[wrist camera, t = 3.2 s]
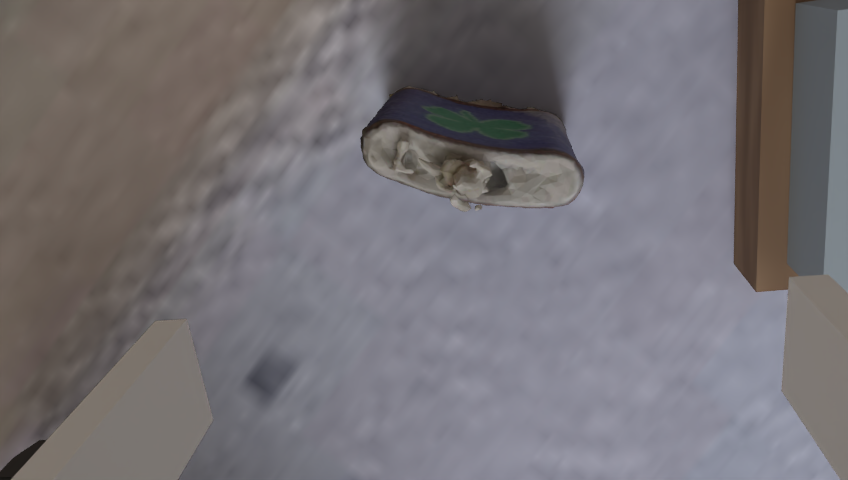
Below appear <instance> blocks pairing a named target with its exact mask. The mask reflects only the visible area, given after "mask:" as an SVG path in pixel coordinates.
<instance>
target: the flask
mask: <svg viewBox="0 0 848 480" xmlns="http://www.w3.org/2000/svg"><path fill="white" fill-rule="evenodd" d="M389 96H390V99H389V100H388V101H387V102H386V103H385V104H384V106H383V107H382V108H381V109H380V110H379V111H378V112H377V115H376V116H375V117H374V118H373V119H372V120H371V121H370V123H369V124H368V125H367V127H365V128H364V129H363V130H362V137H361V138H360V139H361V149H362V153H363V159H364V161H365V163H366V164H367V166H368V167H369V168H371V169H372V170H373V171H375V172H376V173H377V174H379V175H381V176H383V177H386V178H388V179H391V180H394V181H397V182H399V183H401V184H404V185H407V186H410V187H413V188H416V189H419V190H421V191H424V192H426V193H430V194H434V195H436V196H439V197H444V198H451V199H450V201H451V204H452V205H453V206H454V207H455V208H457V209H459V210H461V211H464V212H467V211H468V210H470V209H471V207H470V205H469V203H468V202H470V203H475V204H482V205H493V206H505V207H523V208H554V207H558V206H564V205H568V204H569V203H571V202H572V201H573V200H575V198H576V197H577V196H578V194H579V193H580V191H581V188H582V186H583V181H584V169H583V167H582V166H581V165H580V163H579V162H578V160H577V159H576V156H575V154H574V152H573V149H572V146H571V144H570V142H569V139H568V137H567V134H566V129H565V127H564V125H563V123H562V121H561V120H560V119H559V118H558V117H557V116H556V115H553V114H551V113H548V112H545V111H541V110H538V109H536V108H534V107H533V108H531V107H527V109H516V108H512V107H510V108H509V107H508V106H504V105H503V106H502V103H495V102H492V101H491V100H487V101H485V100H482V99H480V100H476V102H475V101H472V102H463V101H461V100H459V98H458V97H457V95H456V96H455V97H447V98H446V97H441V96H439V95H438V94H436V93H435V91H433V92H431V91H427V90H424V89H420V88H414V87H411V86H408V87H405V88H402V89H400V90H398V91H397V92H396V93H395V94H390V95H389ZM480 209H482V206H481V205H476V206H475V210H476V211H477V210H480Z"/></svg>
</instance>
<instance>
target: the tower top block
mask: <svg viewBox="0 0 848 480" xmlns="http://www.w3.org/2000/svg"><path fill="white" fill-rule="evenodd" d="M787 264H788V265H789V266H790V267H791V268H792V269H793V270H794V271H795V272H796V273H797V274H798V276H812V275H826V274H828V275H829V276H830V277H831V278H832V279H834V280H835V281H836V282H837V283H838V284H839V285H840V286H841V287H842V288H843V289H844V290H845V291H846V292H847V293H848V0H815V1H808V2H801V3H796V10H795V40H794V69H793V99H792V129H791V159H790V189H789V219H788V248H787Z"/></svg>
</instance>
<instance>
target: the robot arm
mask: <svg viewBox="0 0 848 480" xmlns="http://www.w3.org/2000/svg"><path fill="white" fill-rule="evenodd" d="M782 392H783V394H784V395H785V397H786V398H787V400H788V401H789V403H790V404H791V406H792V407H793V409H794V410H795V412H796V413H797V415H798V416H799V418H800V419H801V421H802V422H803V424H804V425H805V427H806V428H807V430H808V431H809V433H810V434H811V436H812V437H813V439H814V440H815V442H816V444H817V445H818V447H819V448H820V450H821V451H822V453H823V454H824V456H825V457H826V459H827V460H828V462H829V463H830V465H831V466H832V468H833V469H834V471H835V472H836V474H837V475H838V477H839V478H840V480H848V293H847V292H846V291H845V290H844V289H843V288H842V287H841V286H840V285H839V284H838V283H837V282H836V281H835V280H834V279H832V278H831V277H830V276H829V275H828V274H826V275H812V276H797V277H789V285H788V301H787V316H786V331H785V346H784V361H783V377H782ZM212 422H213V416H212V413H211V409H210V405H209V401H208V397H207V394H206V390H205V386H204V382H203V378H202V375H201V371H200V367H199V363H198V359H197V355H196V352H195V348H194V344H193V340H192V336H191V333H190V329H189V325H188V321H187V319H178V320H163V321H155V322H154V323H153V324H152V325H151V326H150V327H149V329H148V330H147V331H146V332H145V333H144V334H143V335H142V336H141V337H140V338H139V340H138V341H137V342H136V343H135V344H134V345H133V346H132V347H131V348H130V349H129V350H128V352H127V353H126V354H125V355H124V356H123V357H122V358H121V359H120V360H119V361H118V363H117V364H116V365H115V366H114V367H113V368H112V369H111V370H110V371H109V372H108V374H107V375H106V376H105V377H104V378H103V379H102V380H101V381H100V382H99V383H98V384H97V386H96V387H95V388H94V389H93V390H92V391H91V392H90V393H89V394H88V395H87V397H86V398H85V399H84V400H83V401H82V402H81V403H80V404H79V405H78V406H77V408H76V409H75V410H74V411H73V412H72V413H71V414H70V415H69V416H68V417H67V419H66V420H65V421H64V422H63V423H62V424H61V425H60V426H59V427H58V428H57V429H56V431H55V432H54V433H53V434H52V435H51V436H50V437H49V438H48V439H47V440H39V441H38V442H36V443H35V444H33V445H32V446H30V447H29V448H27V449H26V450H24V451H23V452H21V453H20V454H18V455H17V456H15V457H14V458H13V459H12V460H11V461H10V462H9V463H8V464H7V465H6V466H5V467H4V468H3V469H2V470H1V471H0V480H178V479H179V477H180V475H181V474H182V472H183V470H184V469H185V467H186V465H187V464H188V462H189V460H190V459H191V457H192V455H193V454H194V452H195V450H196V449H197V447H198V445H199V443H200V442H201V440H202V438H203V437H204V435H205V433H206V432H207V430H208V428H209V427H210V425H211V423H212Z"/></svg>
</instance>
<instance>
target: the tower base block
mask: <svg viewBox="0 0 848 480" xmlns="http://www.w3.org/2000/svg"><path fill="white" fill-rule="evenodd" d="M808 1H815V0H738V51H737V109H736V167H735V224H734V265H735V266H736V267H737V268H738V270H739V271H740V272H741V273H742V275H743V276H744V277H745V278H746V280H747V281H748V282H749V284H750V285H751V286H752V287H753V289H754V290H755V291H756V292H762V291H775V290H787V289H788V285H789V277H797V276H798V274H797V273H796V272H795V271H794V270H793V269H792V268H791V267H790V266H789V265H788V264H787V248H788V219H789V189H790V159H791V129H792V99H793V69H794V40H795V10H796V3H801V2H808Z"/></svg>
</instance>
